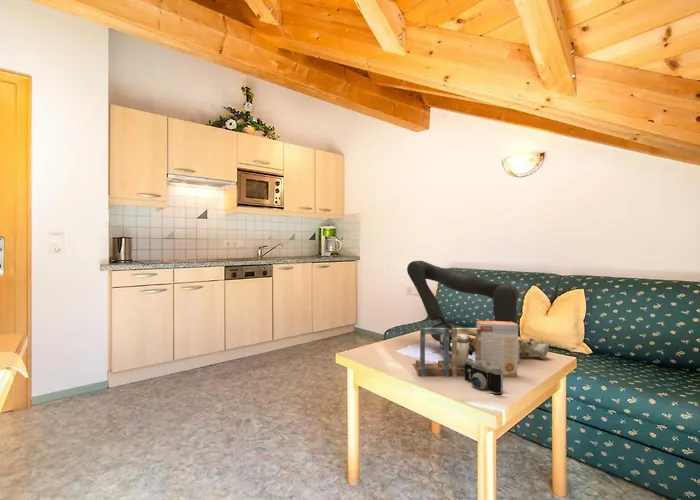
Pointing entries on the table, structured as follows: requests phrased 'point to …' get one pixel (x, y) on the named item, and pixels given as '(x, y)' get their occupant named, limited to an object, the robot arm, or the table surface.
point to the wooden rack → (445, 353)
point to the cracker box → (500, 345)
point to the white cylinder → (462, 349)
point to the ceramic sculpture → (533, 349)
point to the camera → (484, 376)
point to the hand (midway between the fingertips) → (463, 352)
